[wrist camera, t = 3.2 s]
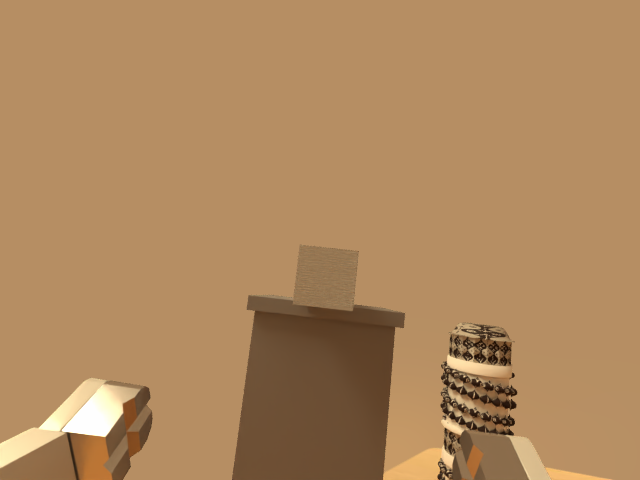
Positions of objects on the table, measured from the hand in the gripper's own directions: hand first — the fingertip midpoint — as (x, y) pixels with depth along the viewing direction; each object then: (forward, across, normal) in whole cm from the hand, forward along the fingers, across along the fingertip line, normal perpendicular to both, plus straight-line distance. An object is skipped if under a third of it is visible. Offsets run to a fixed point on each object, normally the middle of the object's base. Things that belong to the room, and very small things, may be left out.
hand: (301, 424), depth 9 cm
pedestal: (+7, 0, +31) cm, 32 cm away
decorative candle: (+24, -21, +40) cm, 51 cm away
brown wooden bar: (+17, 0, +7) cm, 19 cm away
